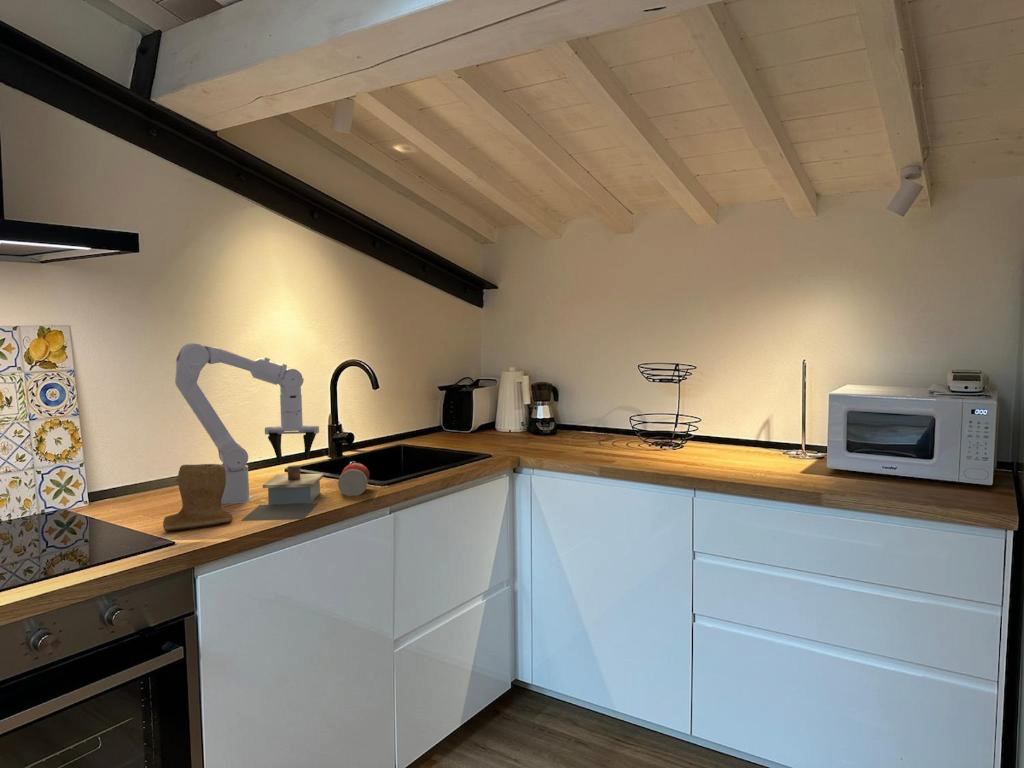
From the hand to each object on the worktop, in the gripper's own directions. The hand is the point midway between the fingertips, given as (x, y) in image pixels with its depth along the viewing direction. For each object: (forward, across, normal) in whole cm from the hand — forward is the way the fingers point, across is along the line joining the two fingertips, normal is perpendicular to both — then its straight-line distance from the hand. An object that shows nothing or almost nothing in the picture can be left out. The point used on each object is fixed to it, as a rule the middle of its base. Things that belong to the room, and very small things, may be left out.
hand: (293, 459), depth 193 cm
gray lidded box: (+10, +2, -7) cm, 12 cm away
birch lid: (+5, +2, -7) cm, 9 cm away
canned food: (+6, +16, +6) cm, 18 cm away
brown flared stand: (+10, -15, -30) cm, 35 cm away
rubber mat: (+10, +2, -21) cm, 23 cm away
